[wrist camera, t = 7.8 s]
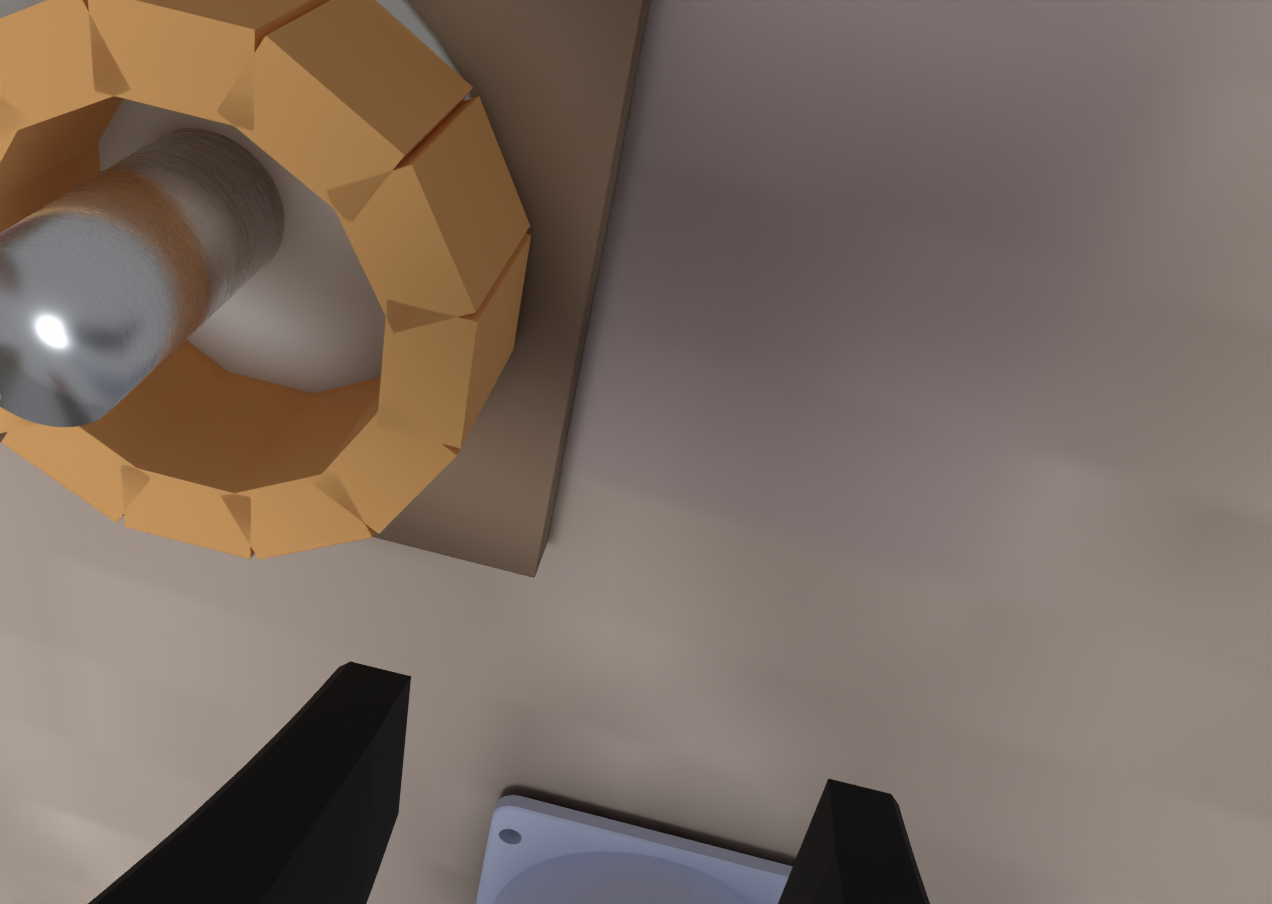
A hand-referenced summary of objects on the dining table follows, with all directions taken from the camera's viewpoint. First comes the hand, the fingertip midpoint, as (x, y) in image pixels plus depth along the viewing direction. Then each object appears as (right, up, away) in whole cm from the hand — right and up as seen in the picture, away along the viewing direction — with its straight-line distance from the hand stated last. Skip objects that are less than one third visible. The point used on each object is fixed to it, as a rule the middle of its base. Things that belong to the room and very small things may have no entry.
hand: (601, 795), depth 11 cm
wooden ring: (-5, +7, +7) cm, 11 cm away
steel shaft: (-6, +8, +8) cm, 13 cm away
